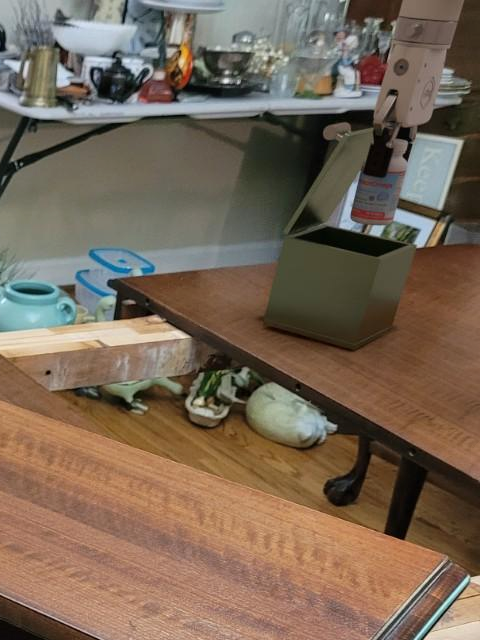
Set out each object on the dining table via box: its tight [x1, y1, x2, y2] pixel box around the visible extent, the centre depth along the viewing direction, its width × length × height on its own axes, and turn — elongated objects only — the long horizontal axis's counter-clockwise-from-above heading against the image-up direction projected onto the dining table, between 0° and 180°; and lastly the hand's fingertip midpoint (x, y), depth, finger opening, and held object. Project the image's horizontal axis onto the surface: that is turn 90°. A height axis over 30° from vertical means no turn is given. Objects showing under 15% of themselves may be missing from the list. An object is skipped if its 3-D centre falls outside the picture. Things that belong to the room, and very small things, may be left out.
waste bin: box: [262, 223, 418, 351], centre depth 168 cm, size 15×14×13 cm
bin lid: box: [282, 121, 374, 236], centre depth 164 cm, size 16×14×5 cm
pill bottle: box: [349, 139, 408, 227], centre depth 159 cm, size 6×6×11 cm
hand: (384, 172), depth 158 cm, fingers closed on pill bottle, 6 cm apart
